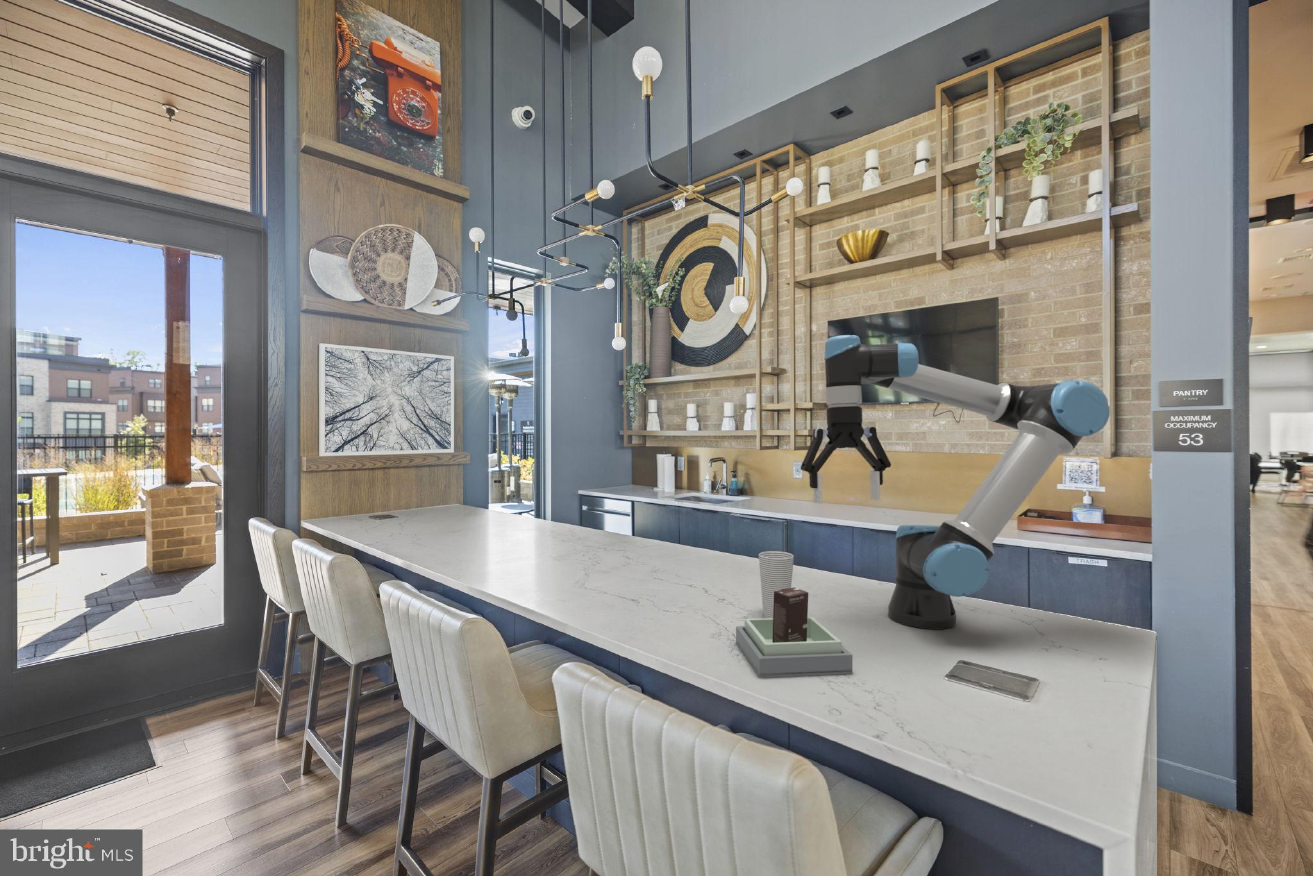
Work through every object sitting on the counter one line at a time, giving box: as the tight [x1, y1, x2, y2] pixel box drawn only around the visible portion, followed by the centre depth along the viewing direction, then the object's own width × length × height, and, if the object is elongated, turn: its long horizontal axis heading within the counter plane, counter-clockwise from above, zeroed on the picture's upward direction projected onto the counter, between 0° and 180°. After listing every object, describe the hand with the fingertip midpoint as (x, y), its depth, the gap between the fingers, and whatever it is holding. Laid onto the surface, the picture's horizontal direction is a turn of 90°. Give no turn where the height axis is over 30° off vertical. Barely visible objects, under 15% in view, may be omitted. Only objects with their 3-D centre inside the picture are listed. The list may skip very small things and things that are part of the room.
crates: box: [735, 616, 853, 679], centre depth 117 cm, size 18×18×6 cm
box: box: [772, 587, 809, 643], centre depth 117 cm, size 6×4×12 cm
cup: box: [758, 550, 795, 618], centre depth 142 cm, size 8×8×16 cm
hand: (847, 501), depth 129 cm, fingers open, 13 cm apart
